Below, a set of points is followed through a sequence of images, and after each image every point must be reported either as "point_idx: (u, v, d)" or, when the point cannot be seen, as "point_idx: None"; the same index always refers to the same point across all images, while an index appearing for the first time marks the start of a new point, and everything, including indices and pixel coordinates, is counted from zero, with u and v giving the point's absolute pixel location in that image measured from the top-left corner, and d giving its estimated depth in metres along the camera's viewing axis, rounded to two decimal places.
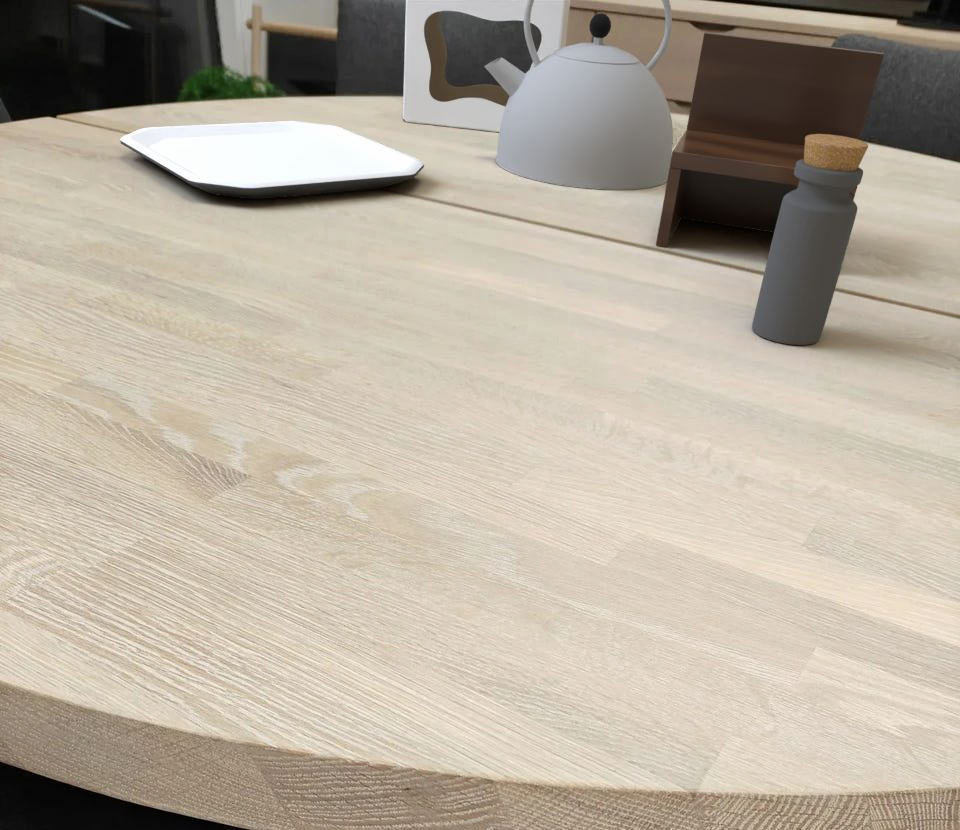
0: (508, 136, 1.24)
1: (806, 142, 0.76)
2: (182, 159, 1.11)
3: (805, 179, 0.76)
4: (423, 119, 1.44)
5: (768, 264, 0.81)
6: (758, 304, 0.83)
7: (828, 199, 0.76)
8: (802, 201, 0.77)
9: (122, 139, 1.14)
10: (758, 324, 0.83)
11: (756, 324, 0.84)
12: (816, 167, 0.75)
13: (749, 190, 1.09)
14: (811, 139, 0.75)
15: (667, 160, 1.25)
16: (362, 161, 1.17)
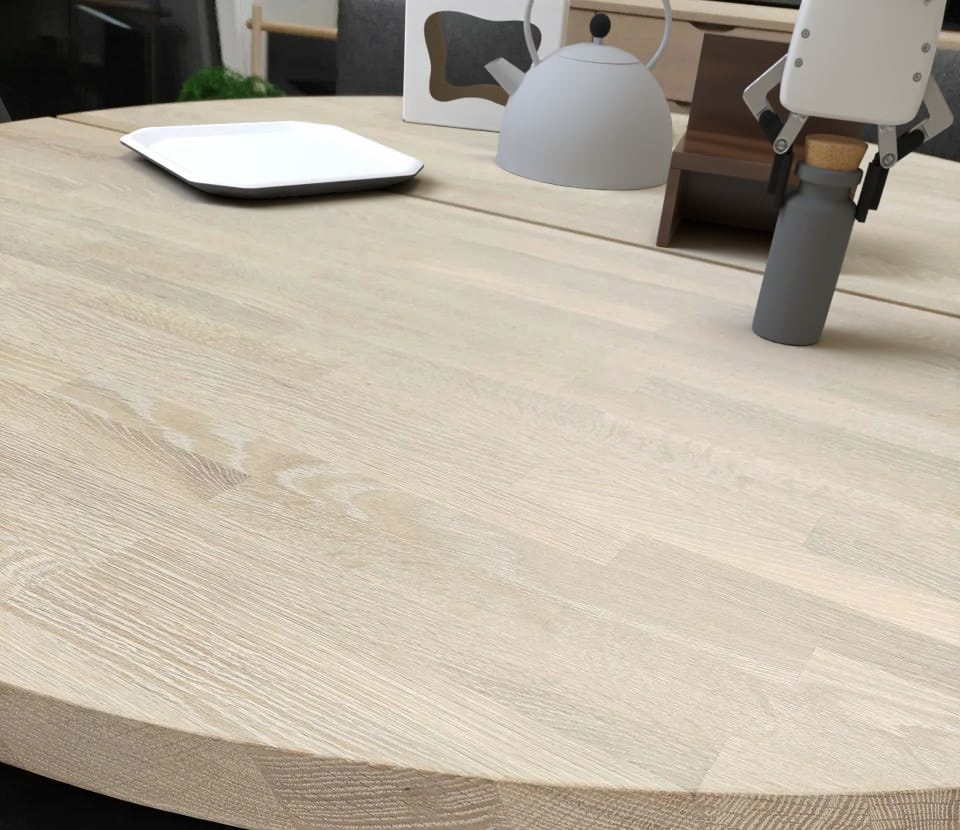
0: (508, 136, 1.24)
1: (806, 142, 0.76)
2: (182, 159, 1.11)
3: (805, 179, 0.76)
4: (423, 119, 1.44)
5: (768, 264, 0.81)
6: (758, 304, 0.83)
7: (829, 199, 0.76)
8: (802, 201, 0.77)
9: (122, 139, 1.14)
10: (758, 324, 0.83)
11: (756, 324, 0.84)
12: (817, 167, 0.75)
13: (749, 190, 1.09)
14: (811, 139, 0.75)
15: (667, 160, 1.25)
16: (362, 161, 1.17)
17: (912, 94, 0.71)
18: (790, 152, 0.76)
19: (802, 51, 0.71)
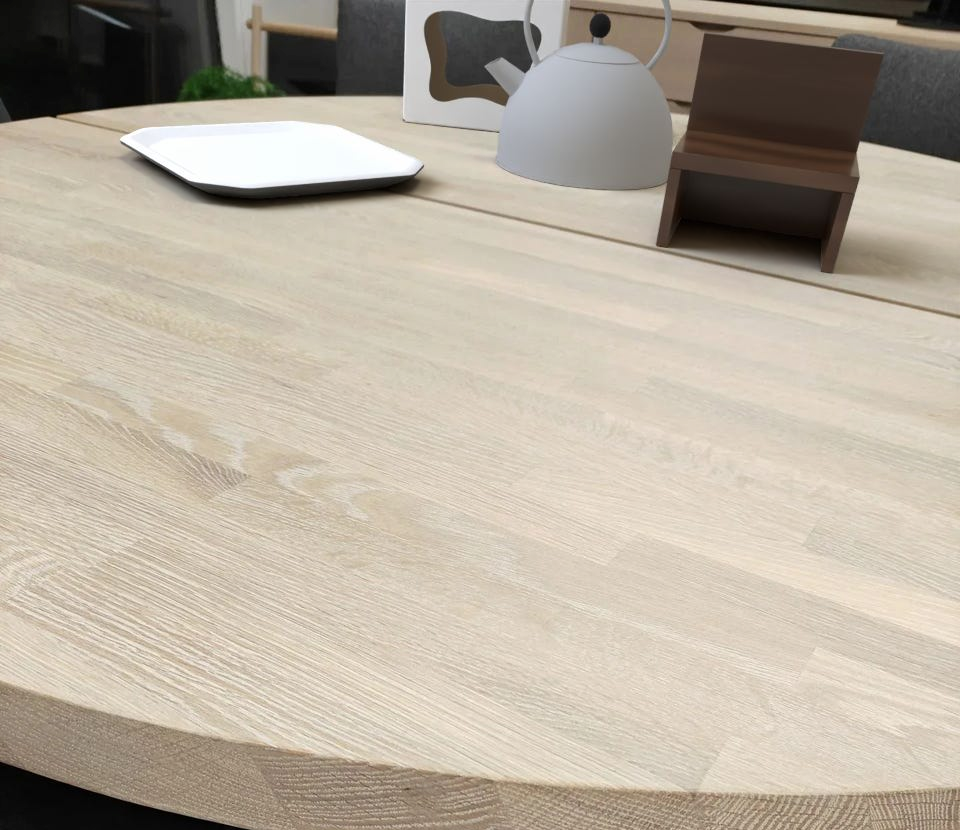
0: (508, 136, 1.24)
1: None
2: (182, 159, 1.11)
3: None
4: (423, 119, 1.44)
5: None
6: None
7: None
8: None
9: (122, 139, 1.14)
10: None
11: None
12: None
13: (749, 190, 1.09)
14: None
15: (667, 160, 1.25)
16: (362, 161, 1.17)
17: None
18: None
19: None
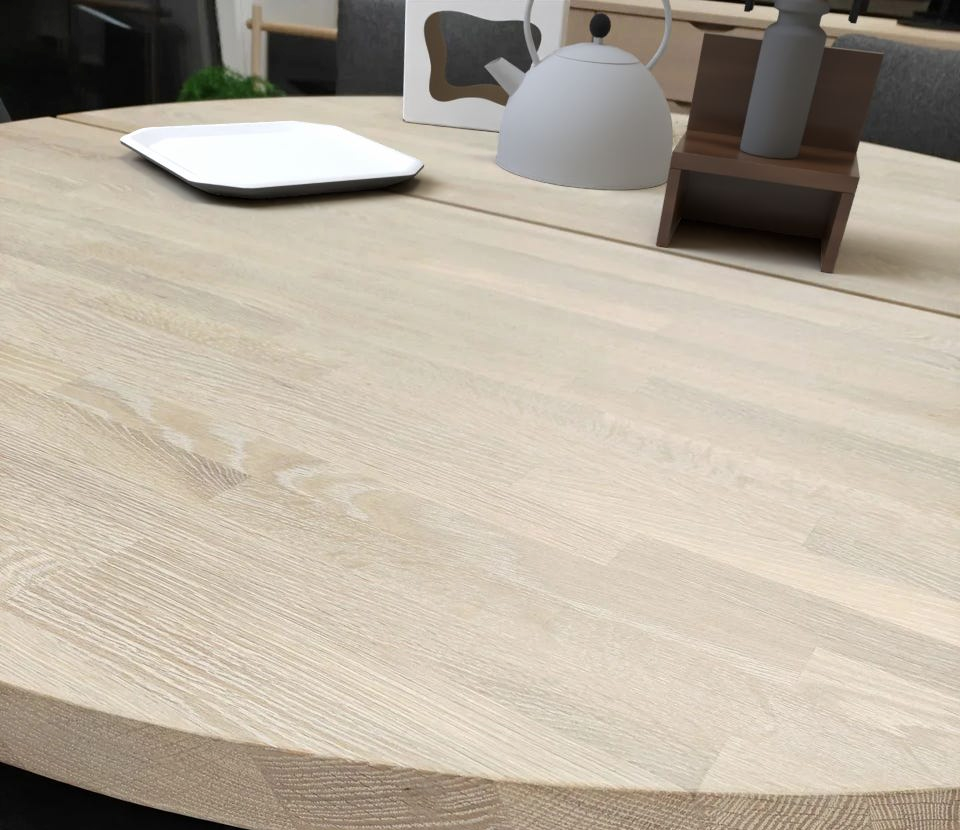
0: (508, 136, 1.24)
1: None
2: (182, 159, 1.11)
3: (783, 8, 0.92)
4: (423, 119, 1.44)
5: (753, 88, 0.97)
6: (745, 125, 0.99)
7: (802, 25, 0.92)
8: (780, 28, 0.93)
9: (122, 139, 1.14)
10: (745, 143, 0.99)
11: (743, 143, 1.00)
12: None
13: (749, 190, 1.09)
14: None
15: (667, 160, 1.25)
16: (362, 161, 1.17)
17: None
18: None
19: None
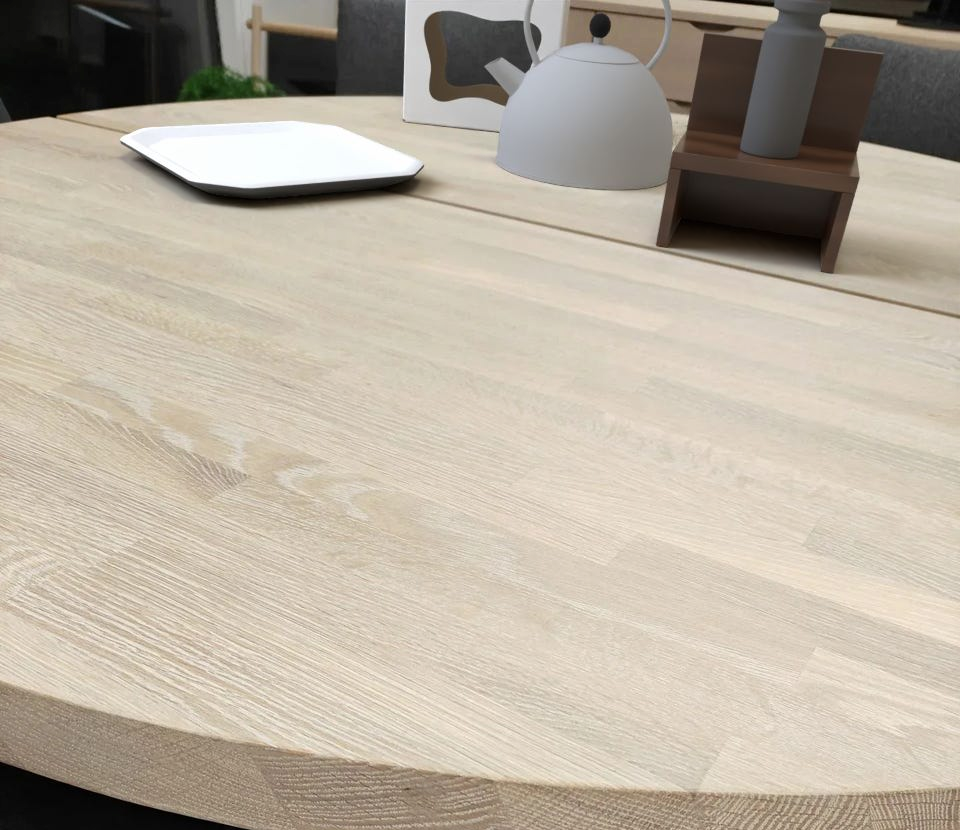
0: (508, 136, 1.24)
1: None
2: (182, 159, 1.11)
3: (783, 8, 0.92)
4: (423, 119, 1.44)
5: (753, 88, 0.97)
6: (745, 125, 0.99)
7: (802, 25, 0.92)
8: (780, 28, 0.93)
9: (122, 139, 1.14)
10: (745, 143, 0.99)
11: (743, 143, 1.00)
12: None
13: (749, 190, 1.09)
14: None
15: (667, 160, 1.25)
16: (362, 161, 1.17)
17: None
18: None
19: None
